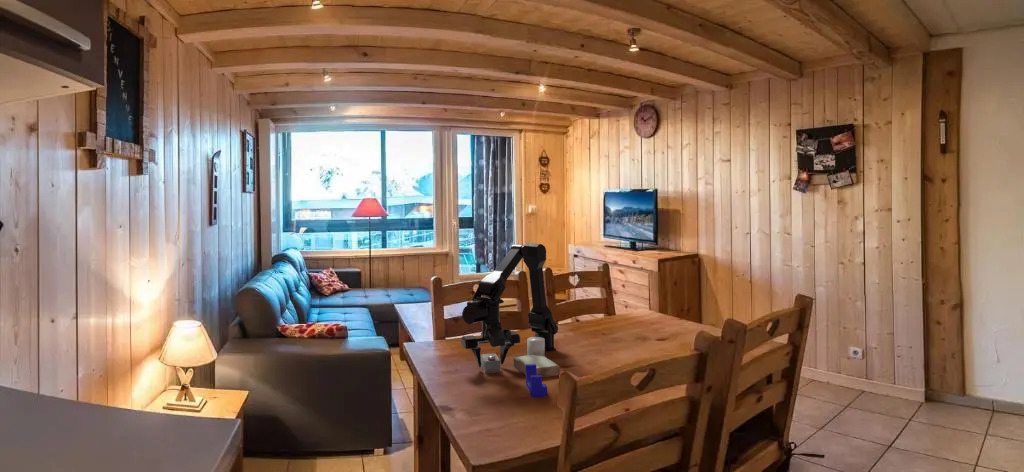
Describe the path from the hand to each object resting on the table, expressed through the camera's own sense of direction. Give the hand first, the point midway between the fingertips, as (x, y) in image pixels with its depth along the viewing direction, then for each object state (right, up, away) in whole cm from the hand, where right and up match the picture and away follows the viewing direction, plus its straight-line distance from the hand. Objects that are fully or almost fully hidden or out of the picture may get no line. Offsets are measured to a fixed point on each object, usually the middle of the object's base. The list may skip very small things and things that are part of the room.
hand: (490, 365), depth 174 cm
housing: (0, -1, 0) cm, 1 cm away
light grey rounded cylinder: (+15, 0, +10) cm, 18 cm away
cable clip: (+14, -3, -19) cm, 23 cm away
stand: (+15, -1, -2) cm, 15 cm away
